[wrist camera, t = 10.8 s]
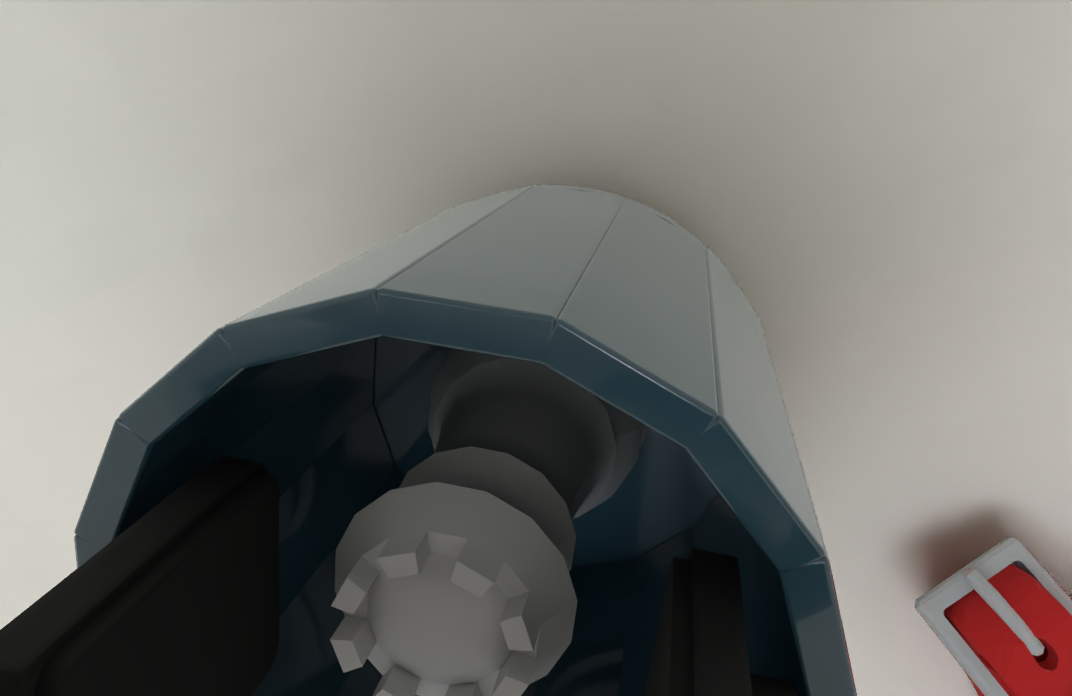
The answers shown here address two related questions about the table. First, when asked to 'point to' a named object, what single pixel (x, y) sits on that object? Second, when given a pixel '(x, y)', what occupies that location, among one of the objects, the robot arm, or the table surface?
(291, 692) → the tumbler
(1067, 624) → the tracker holder
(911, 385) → the table surface
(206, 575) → the robot arm
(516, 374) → the rook chess piece
